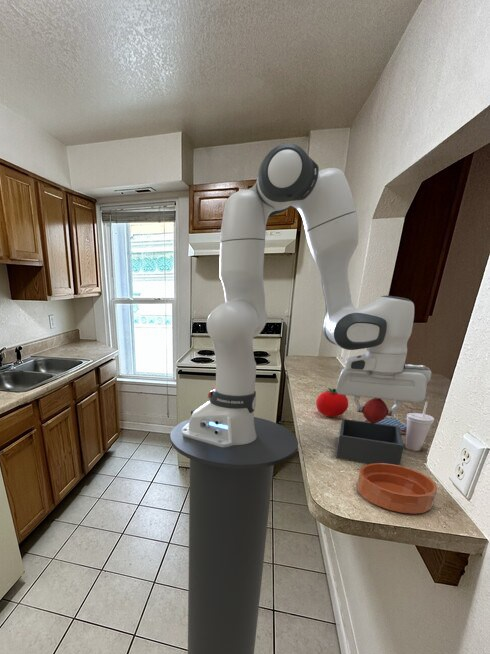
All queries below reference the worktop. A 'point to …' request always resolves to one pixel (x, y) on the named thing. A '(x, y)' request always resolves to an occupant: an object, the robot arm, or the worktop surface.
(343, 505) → the worktop surface
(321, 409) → the tomato
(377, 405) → the pomegranate
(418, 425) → the smoothie
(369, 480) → the bowl
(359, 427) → the bin
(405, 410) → the worktop surface
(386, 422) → the woven mat
